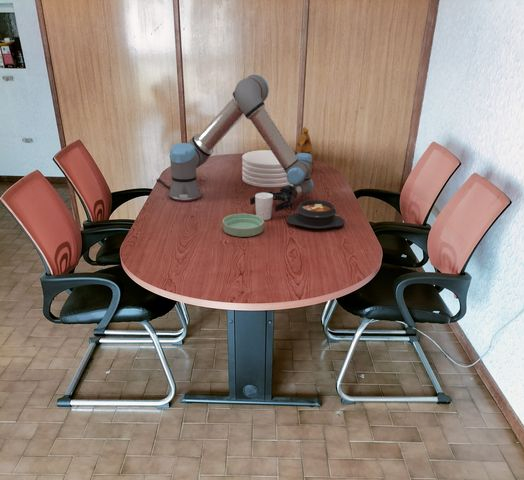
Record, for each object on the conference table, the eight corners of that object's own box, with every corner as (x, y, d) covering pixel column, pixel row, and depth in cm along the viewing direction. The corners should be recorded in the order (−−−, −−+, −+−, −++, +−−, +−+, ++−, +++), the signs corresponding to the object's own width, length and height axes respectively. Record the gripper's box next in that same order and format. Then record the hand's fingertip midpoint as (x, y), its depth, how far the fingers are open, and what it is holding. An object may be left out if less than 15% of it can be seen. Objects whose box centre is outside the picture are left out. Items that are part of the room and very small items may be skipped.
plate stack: (304, 177, 281) (305, 155, 275) (277, 190, 262) (278, 167, 255) (260, 168, 293) (260, 147, 287) (231, 180, 274) (231, 158, 267)
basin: (214, 231, 217) (214, 221, 215) (240, 219, 229) (240, 210, 226) (246, 241, 209) (246, 232, 207) (271, 229, 220) (272, 219, 218)
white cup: (270, 221, 227) (271, 199, 222) (253, 220, 229) (253, 197, 223) (273, 215, 234) (274, 193, 228) (256, 213, 235) (257, 191, 229)
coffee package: (295, 174, 286) (297, 131, 274) (294, 167, 296) (296, 126, 284) (313, 174, 286) (316, 132, 274) (311, 168, 296) (314, 127, 284)
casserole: (286, 231, 218) (287, 212, 214) (286, 215, 234) (287, 197, 229) (345, 233, 218) (348, 214, 213) (342, 217, 233) (344, 199, 228)
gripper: (312, 206, 238) (286, 220, 223) (268, 195, 250) (240, 207, 235) (313, 190, 233) (287, 202, 219) (268, 179, 245) (240, 190, 231)
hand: (263, 205), depth 227 cm, fingers open, 13 cm apart
